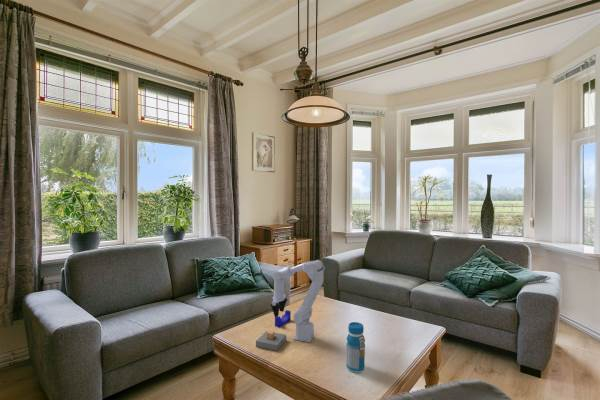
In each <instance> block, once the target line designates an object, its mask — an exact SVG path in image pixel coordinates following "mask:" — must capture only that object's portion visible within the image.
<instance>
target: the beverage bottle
mask: <svg viewBox="0 0 600 400" xmlns="http://www.w3.org/2000/svg"><path fill="white" fill-rule="evenodd" d="M347 328H348V335H347V337H346V345H345V346H346V369H347V370H348V371H349V372H352V373H356V374H357V373H363V372H364V371H365V362H366V361H365V354H366V351H365V350H366V344H365V342H366V339H365V335H364V324H363V323H361V322H357V321H353V322H349V324H348V327H347Z"/></svg>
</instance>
